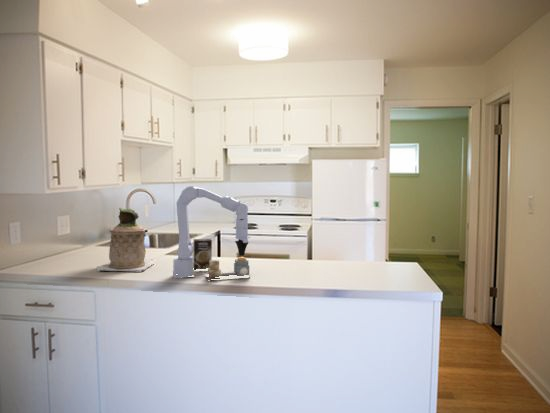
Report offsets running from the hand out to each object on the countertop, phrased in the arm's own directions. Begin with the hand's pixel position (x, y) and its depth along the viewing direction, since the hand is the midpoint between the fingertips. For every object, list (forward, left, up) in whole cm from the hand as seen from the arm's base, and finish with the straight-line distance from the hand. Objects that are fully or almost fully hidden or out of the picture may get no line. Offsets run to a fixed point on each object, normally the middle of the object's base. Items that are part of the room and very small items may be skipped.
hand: (241, 255), depth 198 cm
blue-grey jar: (0, 0, -9) cm, 9 cm away
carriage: (-13, 0, -8) cm, 16 cm away
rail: (-10, 0, -10) cm, 14 cm away
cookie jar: (-53, +38, -11) cm, 66 cm away
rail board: (-7, +1, -10) cm, 13 cm away
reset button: (0, 0, -3) cm, 3 cm away
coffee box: (-16, +19, -11) cm, 27 cm away
